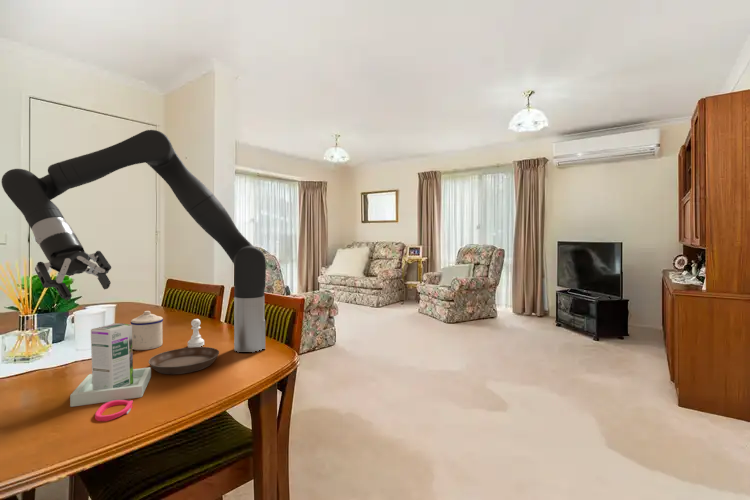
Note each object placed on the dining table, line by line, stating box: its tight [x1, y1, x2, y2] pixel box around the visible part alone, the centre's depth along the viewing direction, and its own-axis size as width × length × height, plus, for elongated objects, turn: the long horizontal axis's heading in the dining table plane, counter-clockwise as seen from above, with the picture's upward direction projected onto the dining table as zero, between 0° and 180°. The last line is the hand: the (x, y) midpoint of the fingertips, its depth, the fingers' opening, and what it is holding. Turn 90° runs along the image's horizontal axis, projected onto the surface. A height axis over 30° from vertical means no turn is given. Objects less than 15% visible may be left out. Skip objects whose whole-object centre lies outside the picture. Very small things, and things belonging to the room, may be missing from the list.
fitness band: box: [94, 399, 134, 422], centre depth 77 cm, size 8×6×2 cm
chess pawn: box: [187, 318, 205, 348], centre depth 123 cm, size 5×5×9 cm
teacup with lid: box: [130, 310, 164, 351], centre depth 121 cm, size 12×9×12 cm
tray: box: [69, 366, 152, 408], centre depth 87 cm, size 13×13×2 cm
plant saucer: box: [148, 346, 220, 375], centre depth 105 cm, size 18×18×3 cm
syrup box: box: [90, 322, 134, 390], centre depth 87 cm, size 6×6×14 cm
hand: (89, 292), depth 93 cm, fingers open, 8 cm apart
